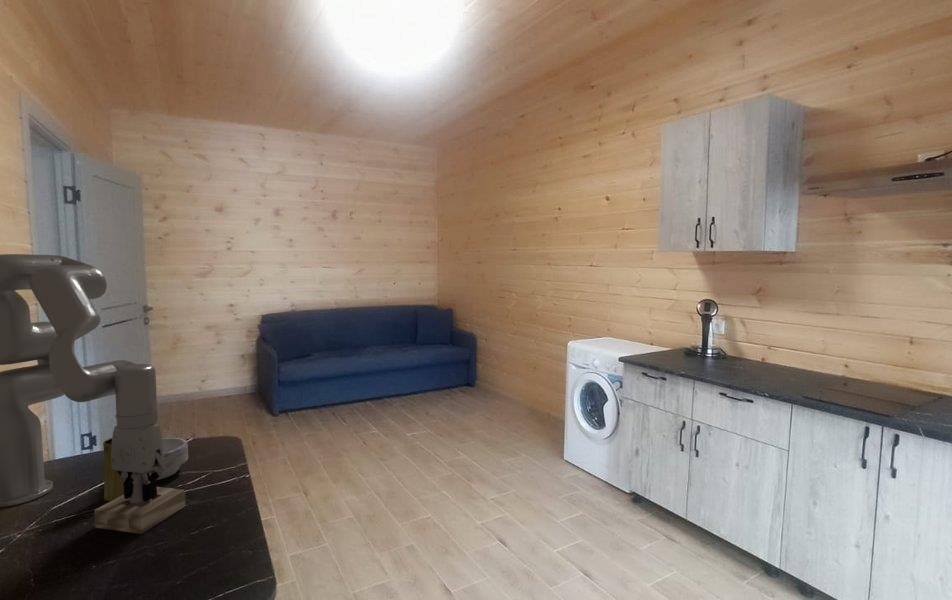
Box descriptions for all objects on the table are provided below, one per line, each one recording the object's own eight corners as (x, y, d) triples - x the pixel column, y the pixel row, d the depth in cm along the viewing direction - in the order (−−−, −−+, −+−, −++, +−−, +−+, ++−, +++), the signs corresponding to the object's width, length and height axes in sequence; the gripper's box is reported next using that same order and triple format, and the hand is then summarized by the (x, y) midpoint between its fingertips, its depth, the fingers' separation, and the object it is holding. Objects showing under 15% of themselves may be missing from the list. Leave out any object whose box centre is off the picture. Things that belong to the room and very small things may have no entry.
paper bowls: (149, 462, 139) (148, 435, 138) (200, 463, 138) (199, 437, 138) (107, 486, 124) (105, 457, 123) (164, 488, 123) (162, 458, 123)
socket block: (95, 527, 105) (94, 509, 105) (142, 500, 117) (142, 485, 116) (141, 533, 103) (140, 516, 102) (185, 506, 114) (184, 489, 114)
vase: (117, 502, 116) (115, 445, 114) (97, 500, 117) (94, 443, 116) (140, 491, 121) (137, 436, 120) (120, 488, 123) (117, 434, 122)
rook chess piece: (125, 510, 107) (123, 475, 106) (133, 500, 111) (132, 467, 110) (148, 508, 108) (146, 473, 107) (155, 498, 112) (154, 465, 112)
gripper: (90, 422, 106) (94, 501, 107) (155, 428, 103) (158, 509, 104) (121, 411, 113) (124, 486, 115) (182, 417, 110) (185, 493, 111)
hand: (140, 496), depth 109 cm, fingers closed on rook chess piece, 4 cm apart
